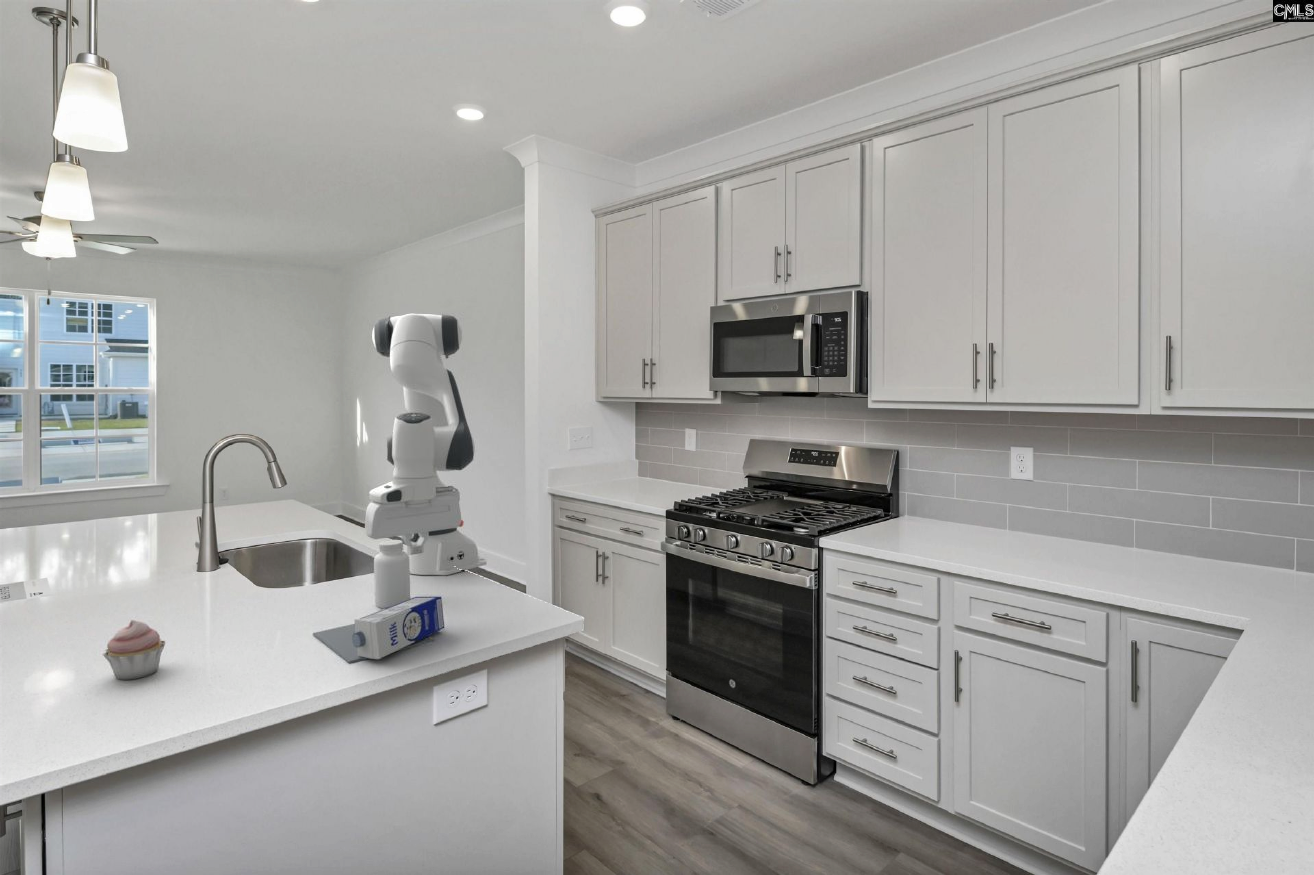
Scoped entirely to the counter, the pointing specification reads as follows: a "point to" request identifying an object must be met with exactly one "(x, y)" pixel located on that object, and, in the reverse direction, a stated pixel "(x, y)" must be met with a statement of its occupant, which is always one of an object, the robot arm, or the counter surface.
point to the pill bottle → (391, 574)
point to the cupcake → (134, 651)
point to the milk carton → (397, 626)
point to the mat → (350, 642)
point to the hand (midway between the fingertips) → (415, 553)
